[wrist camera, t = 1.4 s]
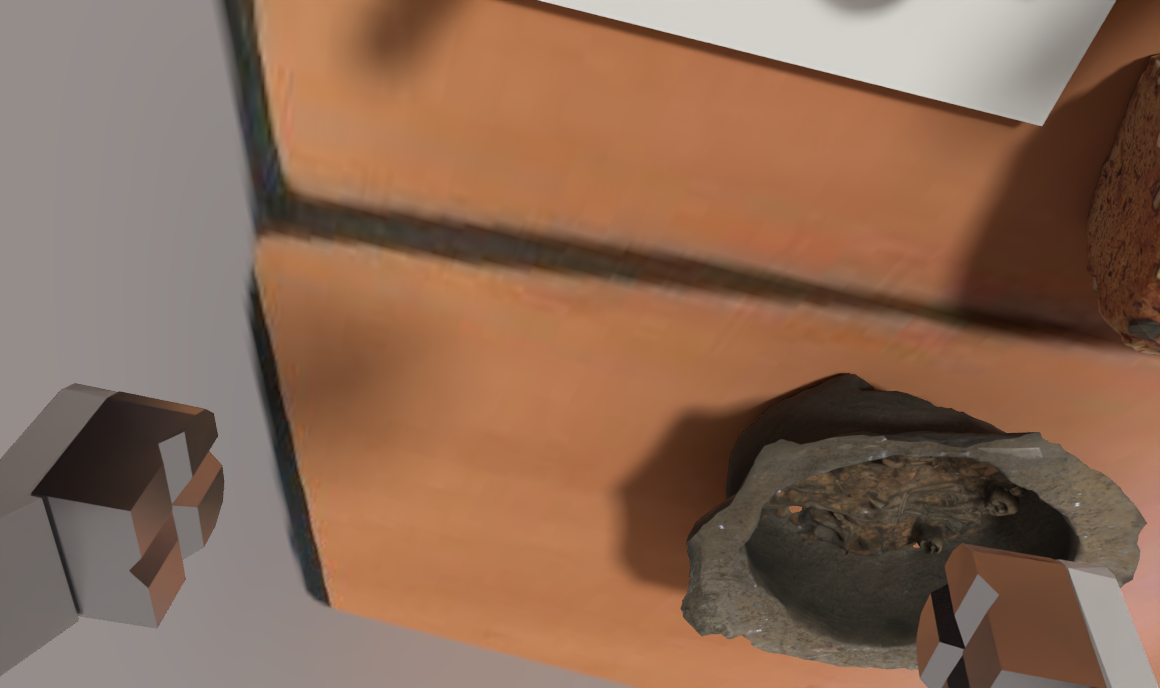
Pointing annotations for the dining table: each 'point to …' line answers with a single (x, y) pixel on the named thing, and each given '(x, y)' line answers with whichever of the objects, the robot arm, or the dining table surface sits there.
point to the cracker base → (898, 42)
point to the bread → (1130, 222)
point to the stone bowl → (882, 521)
